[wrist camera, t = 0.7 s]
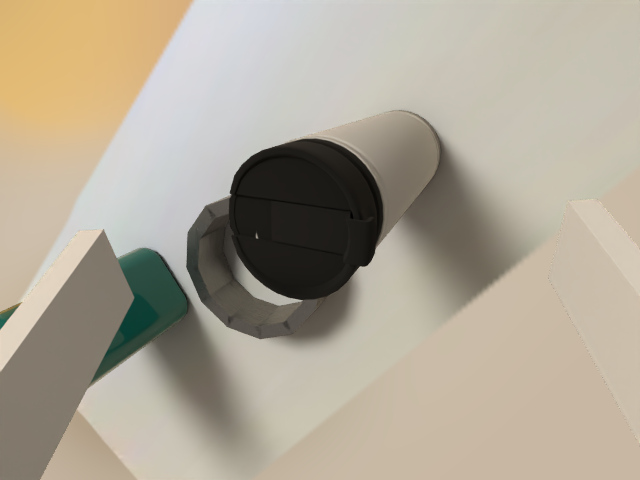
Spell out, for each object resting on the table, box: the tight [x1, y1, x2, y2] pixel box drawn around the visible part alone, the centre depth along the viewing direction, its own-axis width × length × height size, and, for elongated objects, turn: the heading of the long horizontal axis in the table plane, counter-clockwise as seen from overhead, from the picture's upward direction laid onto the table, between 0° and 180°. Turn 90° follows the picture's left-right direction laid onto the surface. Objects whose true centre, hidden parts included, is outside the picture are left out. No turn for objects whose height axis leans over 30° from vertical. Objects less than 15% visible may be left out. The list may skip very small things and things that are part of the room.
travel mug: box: [229, 110, 441, 300], centre depth 26 cm, size 6×7×20 cm
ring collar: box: [186, 195, 327, 339], centre depth 40 cm, size 12×12×4 cm
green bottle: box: [0, 248, 188, 389], centre depth 40 cm, size 10×8×22 cm
